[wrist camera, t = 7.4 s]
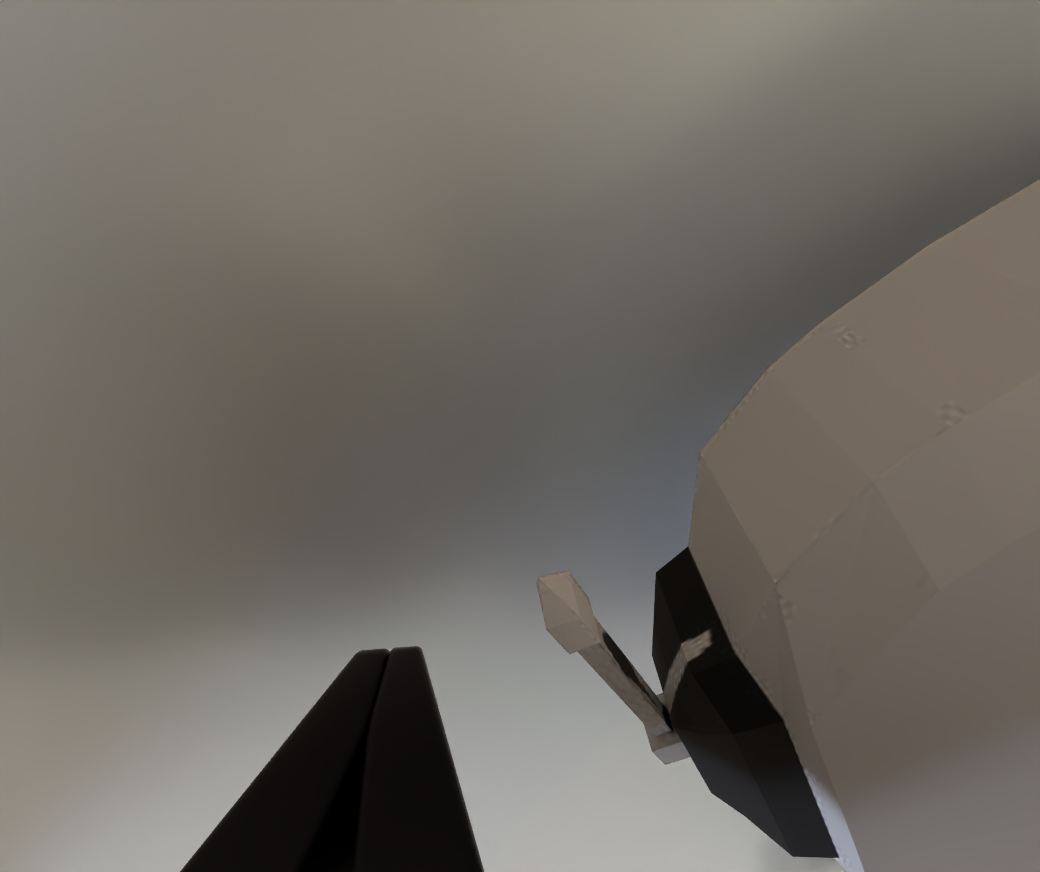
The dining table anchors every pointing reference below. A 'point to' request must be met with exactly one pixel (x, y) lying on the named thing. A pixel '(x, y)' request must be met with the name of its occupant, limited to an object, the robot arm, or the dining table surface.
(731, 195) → the dining table surface
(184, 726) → the dining table surface
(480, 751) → the dining table surface
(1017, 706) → the robot toy
